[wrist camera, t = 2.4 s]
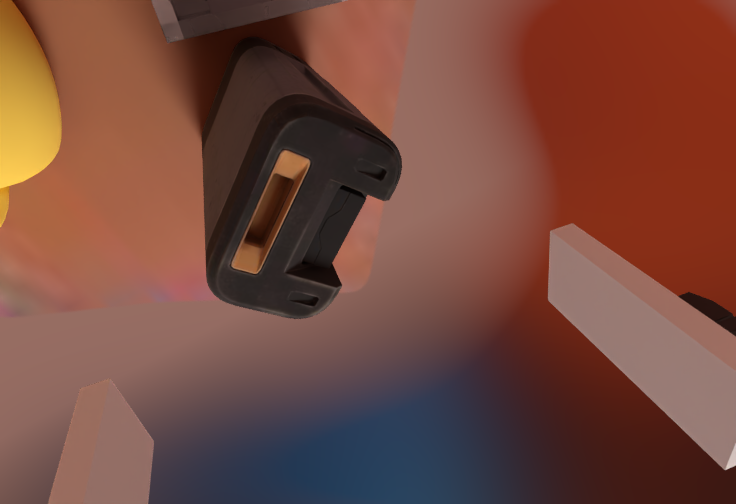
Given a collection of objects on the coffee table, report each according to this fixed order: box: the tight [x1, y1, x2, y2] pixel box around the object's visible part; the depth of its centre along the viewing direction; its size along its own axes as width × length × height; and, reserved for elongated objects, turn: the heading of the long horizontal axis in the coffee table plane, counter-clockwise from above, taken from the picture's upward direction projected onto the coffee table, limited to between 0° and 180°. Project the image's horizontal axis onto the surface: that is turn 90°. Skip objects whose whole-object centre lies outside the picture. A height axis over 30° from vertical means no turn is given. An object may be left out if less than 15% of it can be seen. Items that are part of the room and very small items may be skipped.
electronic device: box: [202, 37, 402, 319], centre depth 28 cm, size 9×6×20 cm, turn 151°
